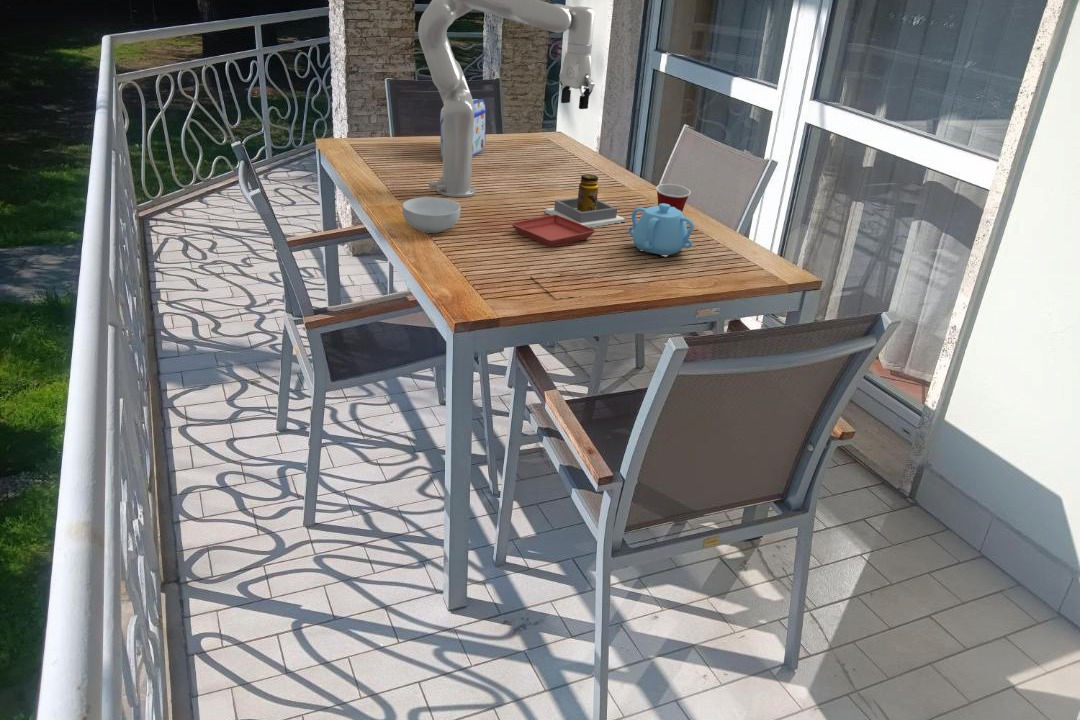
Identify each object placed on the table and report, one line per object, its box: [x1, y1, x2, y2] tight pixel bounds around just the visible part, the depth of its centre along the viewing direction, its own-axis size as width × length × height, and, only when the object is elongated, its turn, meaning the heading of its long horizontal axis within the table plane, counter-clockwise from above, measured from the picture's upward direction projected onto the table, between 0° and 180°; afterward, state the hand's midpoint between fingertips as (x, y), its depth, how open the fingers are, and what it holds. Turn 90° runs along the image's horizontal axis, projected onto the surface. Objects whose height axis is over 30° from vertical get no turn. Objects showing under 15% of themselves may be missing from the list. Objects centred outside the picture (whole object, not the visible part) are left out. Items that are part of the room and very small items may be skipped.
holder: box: [545, 197, 626, 228], centre depth 271 cm, size 18×18×4 cm
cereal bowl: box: [401, 196, 461, 234], centre depth 250 cm, size 17×17×7 cm
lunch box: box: [439, 98, 487, 159], centre depth 325 cm, size 28×10×22 cm, turn 162°
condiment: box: [577, 173, 599, 212], centre depth 269 cm, size 7×8×12 cm
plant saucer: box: [511, 215, 596, 248], centre depth 253 cm, size 18×18×3 cm
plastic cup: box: [655, 183, 692, 213], centre depth 268 cm, size 11×11×12 cm
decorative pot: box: [628, 203, 695, 256], centre depth 246 cm, size 16×16×14 cm
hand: (574, 105), depth 276 cm, fingers open, 9 cm apart
